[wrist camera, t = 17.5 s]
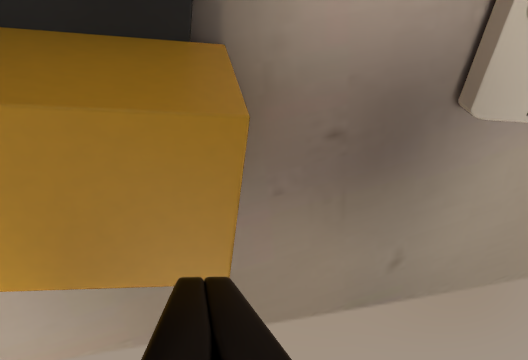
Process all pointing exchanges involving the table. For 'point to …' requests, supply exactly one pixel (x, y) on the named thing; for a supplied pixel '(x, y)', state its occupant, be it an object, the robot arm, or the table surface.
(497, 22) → the smartphone
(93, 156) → the block
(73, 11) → the mat
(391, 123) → the table surface
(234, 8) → the table surface
